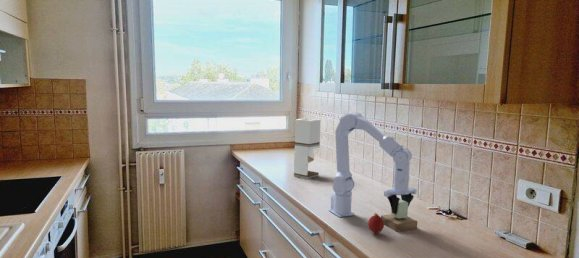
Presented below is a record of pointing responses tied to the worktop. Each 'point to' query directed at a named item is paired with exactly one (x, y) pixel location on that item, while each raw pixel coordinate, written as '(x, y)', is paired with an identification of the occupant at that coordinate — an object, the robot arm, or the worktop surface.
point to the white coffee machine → (305, 146)
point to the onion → (376, 224)
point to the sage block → (401, 209)
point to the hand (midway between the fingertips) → (399, 212)
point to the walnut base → (399, 223)
